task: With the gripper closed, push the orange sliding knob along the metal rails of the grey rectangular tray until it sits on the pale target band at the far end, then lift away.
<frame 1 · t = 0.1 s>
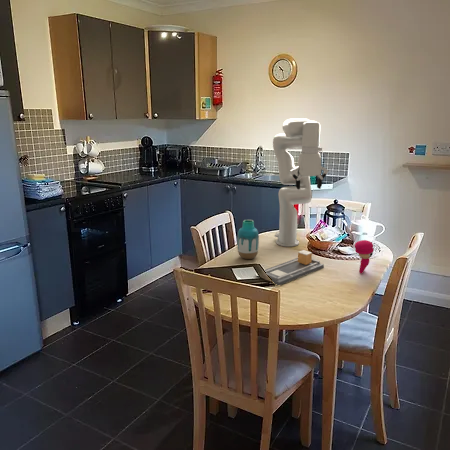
hand: (308, 188, 195), 37 cm above the table, tool pointing down, fingers open, 9 cm apart
grey rectangular tray: (290, 271, 197), on the table
fader knob: (304, 257, 202), point 5 cm above the table, slide at 0.0 cm
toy: (361, 272, 196), on the table
vase: (248, 258, 215), on the table
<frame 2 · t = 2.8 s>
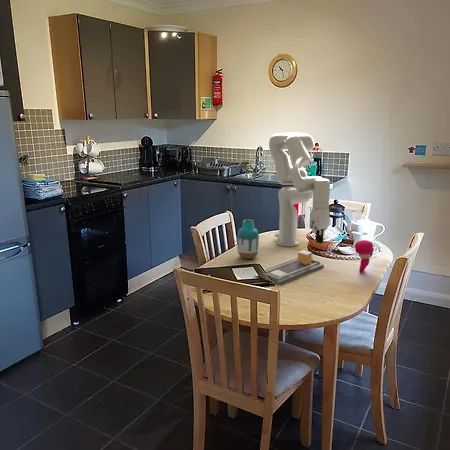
hand: (319, 242, 206), 10 cm above the table, tool pointing down, fingers closed
nothing on the table moved.
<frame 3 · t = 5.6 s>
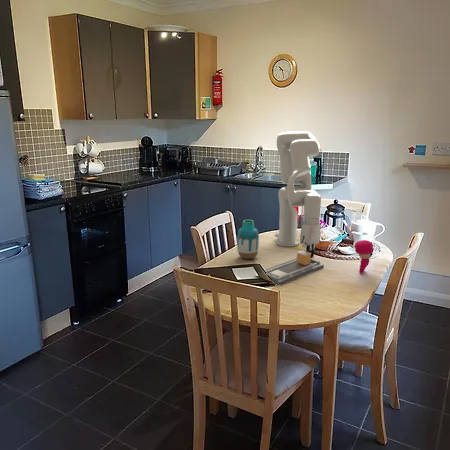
hand: (309, 257, 205), 4 cm above the table, tool pointing down, fingers closed
fader knob: (303, 257, 202), point 5 cm above the table, slide at 0.7 cm, touching gripper
everything else where it was.
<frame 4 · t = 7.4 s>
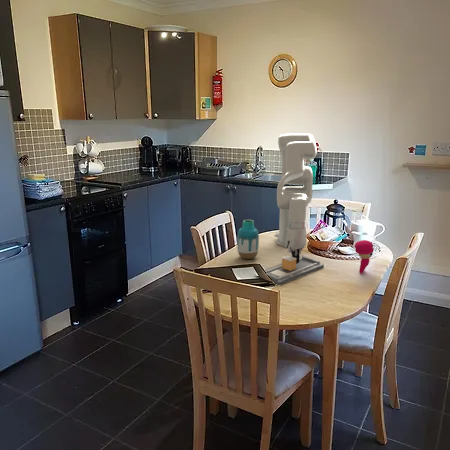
hand: (295, 262, 198), 4 cm above the table, tool pointing down, fingers closed
fader knob: (289, 263, 195), point 5 cm above the table, slide at 11.2 cm, touching gripper
everything else where it was.
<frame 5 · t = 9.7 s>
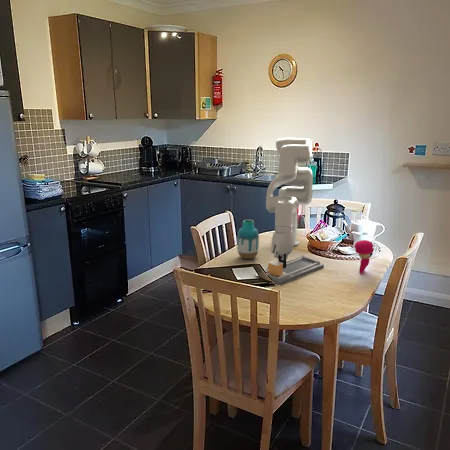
hand: (282, 267, 192), 4 cm above the table, tool pointing down, fingers closed
fader knob: (275, 268, 189), point 5 cm above the table, slide at 20.1 cm, touching gripper
everything else where it was.
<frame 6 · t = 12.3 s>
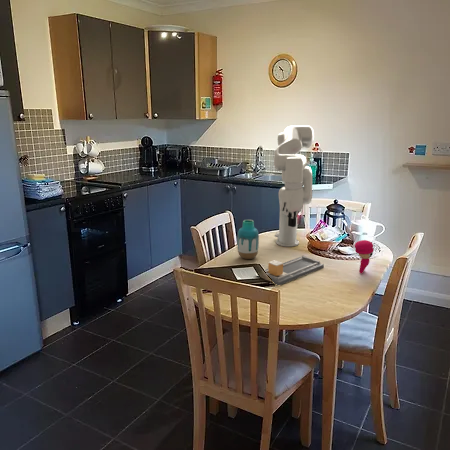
hand: (292, 226, 191), 22 cm above the table, tool pointing down, fingers closed
fader knob: (275, 267, 189), point 5 cm above the table, slide at 20.1 cm
everything else where it was.
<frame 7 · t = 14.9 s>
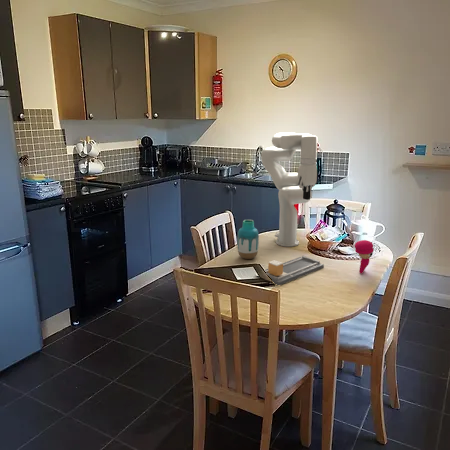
hand: (306, 199, 210), 29 cm above the table, tool pointing down, fingers closed
nothing on the table moved.
at the end: fader knob slide at 20.1 cm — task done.
